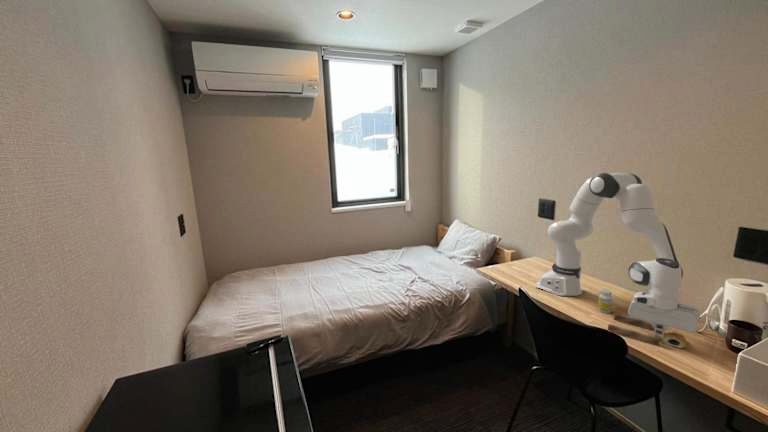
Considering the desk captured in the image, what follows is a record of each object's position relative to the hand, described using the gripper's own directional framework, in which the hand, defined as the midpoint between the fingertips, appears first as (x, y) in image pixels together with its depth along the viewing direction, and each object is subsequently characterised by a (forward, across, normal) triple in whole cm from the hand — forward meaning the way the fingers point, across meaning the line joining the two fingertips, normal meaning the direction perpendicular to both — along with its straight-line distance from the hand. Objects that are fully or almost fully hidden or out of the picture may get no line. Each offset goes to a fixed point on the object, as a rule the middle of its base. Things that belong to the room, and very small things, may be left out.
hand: (658, 333), depth 124 cm
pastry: (+2, -5, 0) cm, 5 cm away
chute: (+2, +7, 0) cm, 8 cm away
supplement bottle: (+2, +20, -13) cm, 24 cm away
